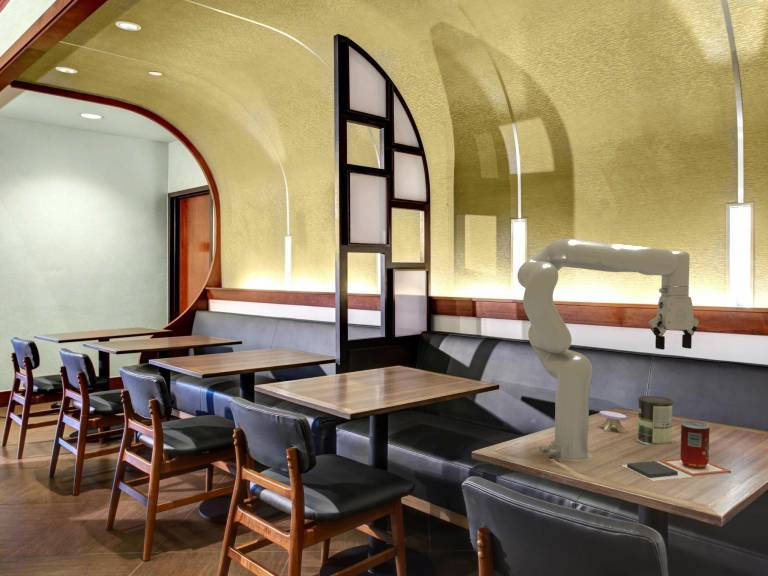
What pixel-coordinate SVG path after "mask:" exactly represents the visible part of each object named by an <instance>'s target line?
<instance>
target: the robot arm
mask: <svg viewBox="0 0 768 576" xmlns="http://www.w3.org/2000/svg"><path fill="white" fill-rule="evenodd" d="M690 259H691V258H690V253H689V252H687V251H682V250H680V251H679V250H674V251H673V250H671V251H670V250H668V249H663V248H656V247H655V248H654V247H647V246H646V247H645V246H639V245H637V246H635V245H627V244H621V243H614V242H604V241H595V240H587V239H582V238H581V239H579V238H561V239H557V240H553V241H552V242H551V243H548V244H547V245H546V246H544V247H543V248H542V249H541V250H539V251H538V252H537V253H536V254H534V255H533V256H532V257H530V258H528V259H527V260H526V261H525V262H523V264H521V266H520V267H519V269H518V271H517V275H516V276H517V281H518V283H519V284H520V285H521V287H523V288H524V293H523V300H522V301H523V302H522V303H523V308H524V312H525V314H526V316H527V318H528V320H529V323H530V326H529V329H528V332H527V335H528V340H529V343H530V345H531V347H532V349H533V351H534V353H535V354H536V356H537V358H538V359H539V361H540V364H541V365H542V367H543V368H544V370H545V372H547V373H548V375H549V376H551V377H552V378H555V379H557V380H558V384H557V388H556V392H555V400H554V401H555V402H554V403H555V405H554V406H555V408H554V409H555V410H554V414H555V415H554V440H553V441H550V442H551V443H550V444H549V445H540V446H539V452H540V453H541V454H542V453H548V455H549V458H550V457H551V458H550V459H552V460H553V459H554V460H553V461H556V460H557V461H556V462H559V460H558V459H560V460H565V461H570V462H571V461H573V462H582V461H583V462H584V461H588V460H592V459H593V458H594V455H593V454H592V453H591V452H589V422H590V421H589V412H590V411H589V409H590V406H589V405H590V403H589V402H590V388H591V382H592V378H593V365H592V363H591V361H590V359H588V357H587V356H585V354H582V353H580V352H578V351H574V350H571V349H569V348H570V347H571V346H572V339H573V338H572V334H571V331H570V330H569V328H568V326H567V325H566V323H565V322H564V320H563V318H562V316H561V314H560V312H559V310H558V309H557V307H556V305H555V302H554V291H555V288H556V285H558V280H559V271H560V269H562V268H564V267H565V268H575V269H580V270H581V269H582V270H591V271H598V272H609V273H639V274H640V275H645V276H661V285H660V288H659V289H658V291H659V293H660V294H661V295H660V296H659V299H658V303H657V308H656V316H655V317H654V318H651V320H649V321H648V325H649V327H650V330H651V333H653V335H654V336H655V341H654V343H655V346H654V347H655V349H656V350H663V351H664V350H665V348H666V347H665V345H666V344H665V343H666V337H665V336H664V335H665V334H666V332H667V330H669V331H681V332H682V333H683V334H682V337H681V347H682V348H683V349H692V346H693V345H692V344H693V343H692V340H693V339H692V337H693V336H694V334H695V332H696V330H697V328H698V325H699V323H700V321H699V320H698V319H697V318H695V317H694V308H693V306H694V305H693V301H692V297H691V296H690V295H689V294H690V291H689V289H690V264H691V263H690V261H691V260H690ZM556 458H557V459H556Z"/></svg>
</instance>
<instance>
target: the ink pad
mask: <svg viewBox="0 0 768 576" xmlns="http://www.w3.org/2000/svg"><path fill="white" fill-rule="evenodd" d="M658 462H659V461H655V460H652V461H644V462H643V461H641V462H631V463H626V465H627V467H628V468H630V469H632V470H634V471H636V472H638V473H640V474H642V475H644V476H646V477H648V478H655V477H665V476H675V475H678V471H676V470H673V469H671V468H669V467H667V466H664V465H662V464H660V463H658ZM628 468H627V469H628ZM630 469H629V470H630ZM632 470H631V471H632ZM634 471H633V472H634ZM636 472H635V473H636ZM638 473H637V474H638ZM640 474H639V475H640ZM642 475H641V476H642ZM644 476H643V477H644ZM646 477H645V478H646ZM648 478H647V479H648Z"/></svg>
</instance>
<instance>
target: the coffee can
mask: <svg viewBox="0 0 768 576" xmlns="http://www.w3.org/2000/svg"><path fill="white" fill-rule="evenodd" d="M673 403H674V400H673V399H671V398H667V397H664V396H656V395H655V396H654V395H644V396H643V395H642V396H639V397H638V413H637V414H638V417H637V419H638V420H637V421H638V422H637V439H636V440H637V442H638V443H640V444H642V445H645V444H646V445H647V446H654V445H663V444H664V445H665V444H672V427H673V426H672V425H673Z"/></svg>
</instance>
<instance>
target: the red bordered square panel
mask: <svg viewBox="0 0 768 576" xmlns="http://www.w3.org/2000/svg"><path fill="white" fill-rule="evenodd" d="M659 462H661V463H663V464H666V465H668V466H670V467H672V468H675V469H677V470H679V471H681V472H684V473H686V474H688V475H691V476H697V477H702V476H701V475H706V476H712V475H711V474H716V475H722V474H721V473H726V474H729V473H732V470H730V469H727V468H725V467H724V466H723V467H722V466H720V465H717V464H715V463H713V462H710V461H709V462H708V464H707V465H706V468H705V469H701V470H698V469H690V468H687V467H685V466H683V463H682V461H681V458H679V457H678V458H677V457H676V458H667V459H659Z"/></svg>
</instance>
